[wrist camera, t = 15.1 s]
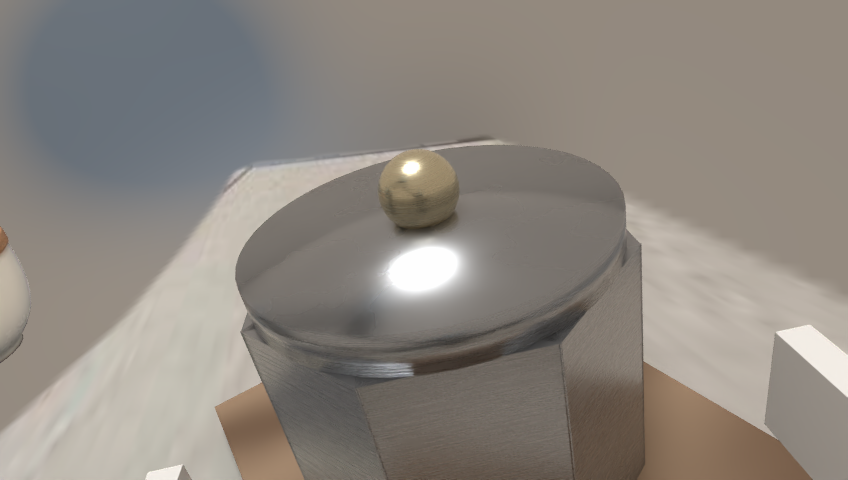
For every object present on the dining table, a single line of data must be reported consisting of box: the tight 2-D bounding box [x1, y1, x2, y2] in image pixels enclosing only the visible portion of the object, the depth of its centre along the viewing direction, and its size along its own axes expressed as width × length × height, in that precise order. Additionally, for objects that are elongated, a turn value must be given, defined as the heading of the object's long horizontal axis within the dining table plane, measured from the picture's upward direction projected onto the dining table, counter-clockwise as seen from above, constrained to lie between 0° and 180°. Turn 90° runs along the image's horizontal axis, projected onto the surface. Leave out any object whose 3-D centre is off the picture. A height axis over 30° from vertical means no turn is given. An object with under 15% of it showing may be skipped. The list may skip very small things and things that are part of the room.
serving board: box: [215, 361, 813, 480], centre depth 22 cm, size 20×16×2 cm
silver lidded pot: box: [235, 145, 645, 480], centre depth 19 cm, size 11×11×12 cm
